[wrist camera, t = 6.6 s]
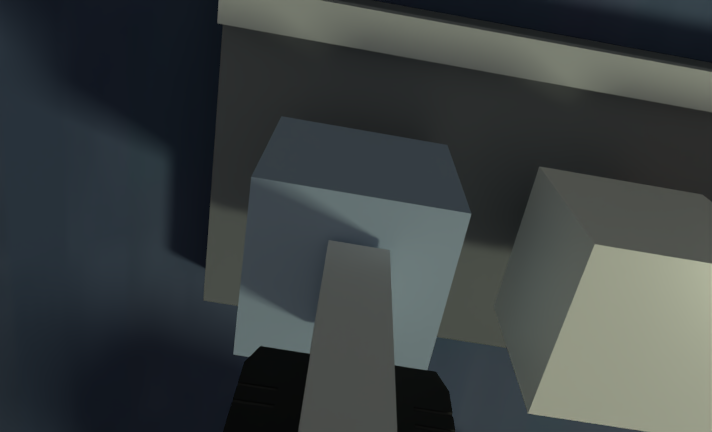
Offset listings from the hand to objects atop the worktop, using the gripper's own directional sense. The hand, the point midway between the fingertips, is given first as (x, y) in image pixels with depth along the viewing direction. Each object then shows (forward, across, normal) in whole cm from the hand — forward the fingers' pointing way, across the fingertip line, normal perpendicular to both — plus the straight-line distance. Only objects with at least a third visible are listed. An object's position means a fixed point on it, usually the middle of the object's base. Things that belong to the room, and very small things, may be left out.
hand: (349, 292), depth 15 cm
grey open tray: (+9, +8, 0) cm, 12 cm away
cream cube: (+5, +8, 0) cm, 9 cm away
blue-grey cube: (+5, 0, 0) cm, 5 cm away
